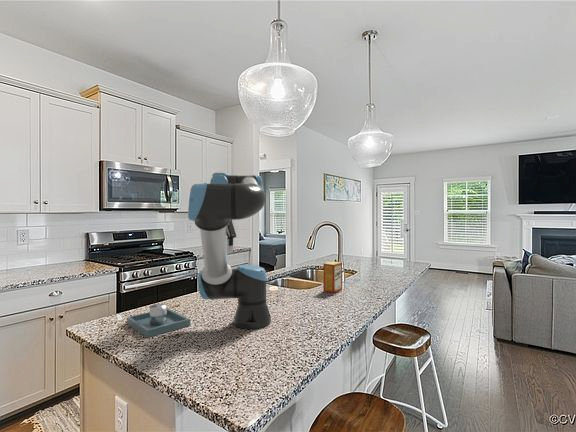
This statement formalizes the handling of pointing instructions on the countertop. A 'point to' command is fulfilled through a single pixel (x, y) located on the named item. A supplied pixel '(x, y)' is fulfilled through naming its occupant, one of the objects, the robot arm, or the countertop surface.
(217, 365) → the countertop surface
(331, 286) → the baking soda box
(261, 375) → the countertop surface
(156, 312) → the knob
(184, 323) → the parts tray
